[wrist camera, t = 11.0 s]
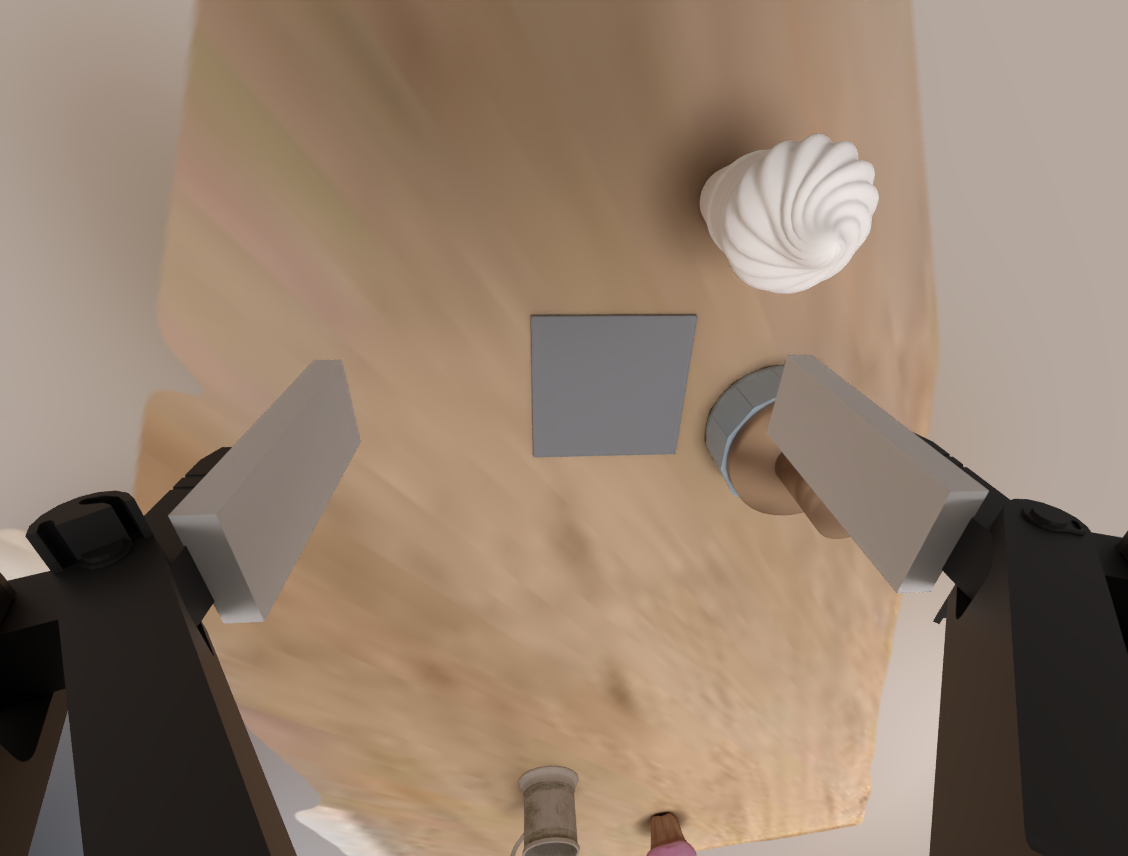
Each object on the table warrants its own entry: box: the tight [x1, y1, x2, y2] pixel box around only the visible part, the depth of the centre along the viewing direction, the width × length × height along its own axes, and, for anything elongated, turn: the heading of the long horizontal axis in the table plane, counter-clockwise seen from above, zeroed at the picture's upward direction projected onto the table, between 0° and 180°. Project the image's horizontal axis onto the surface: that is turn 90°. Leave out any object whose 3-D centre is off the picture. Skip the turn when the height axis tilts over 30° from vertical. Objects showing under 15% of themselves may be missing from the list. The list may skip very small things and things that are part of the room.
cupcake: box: [647, 813, 696, 856], centre depth 87 cm, size 9×9×10 cm
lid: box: [726, 401, 850, 539], centre depth 40 cm, size 12×12×8 cm
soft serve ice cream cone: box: [700, 133, 879, 294], centre depth 30 cm, size 8×8×16 cm
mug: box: [511, 766, 580, 856], centre depth 77 cm, size 14×10×12 cm
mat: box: [531, 314, 697, 457], centre depth 45 cm, size 14×14×1 cm
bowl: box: [705, 365, 785, 498], centre depth 46 cm, size 12×12×5 cm
